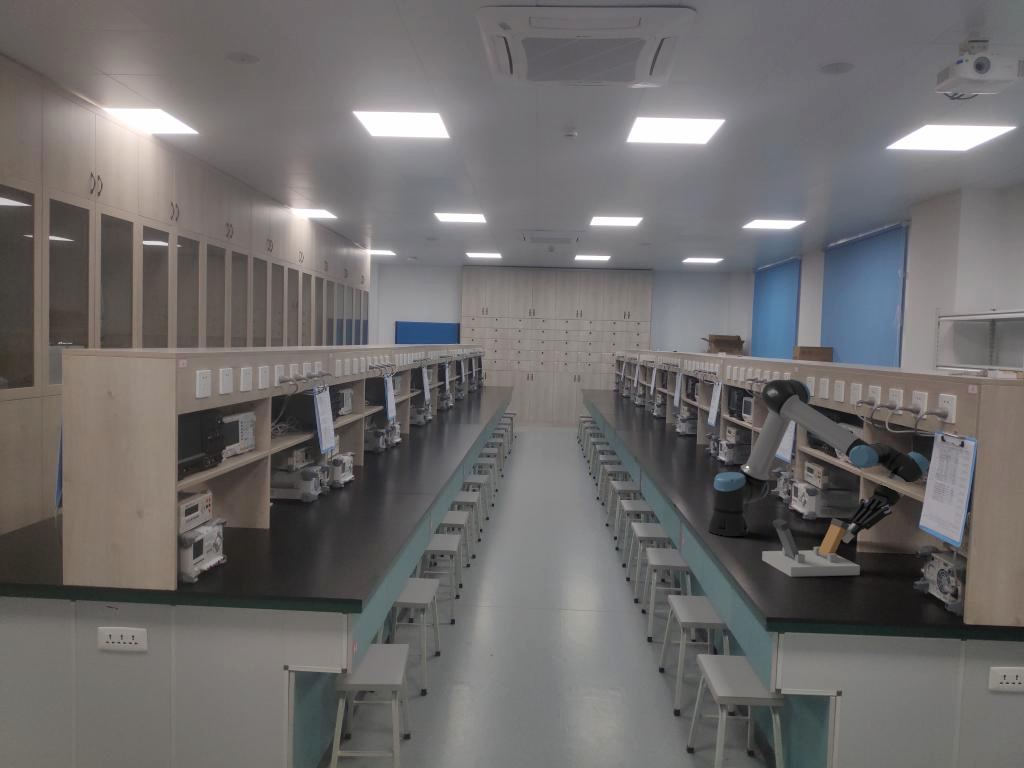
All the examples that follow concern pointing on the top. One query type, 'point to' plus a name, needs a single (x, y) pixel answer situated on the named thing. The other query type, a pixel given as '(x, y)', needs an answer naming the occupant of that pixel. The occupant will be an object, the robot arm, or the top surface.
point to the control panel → (810, 563)
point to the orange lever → (833, 537)
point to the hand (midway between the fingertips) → (843, 540)
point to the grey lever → (786, 537)
